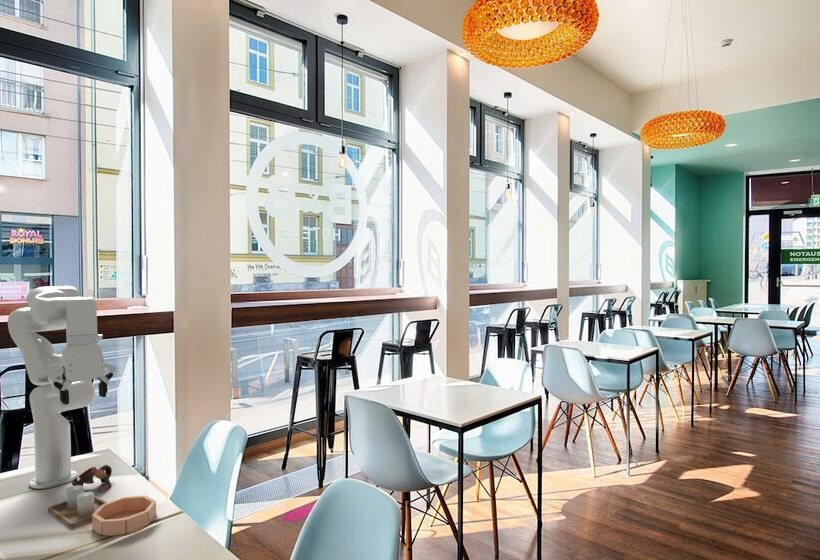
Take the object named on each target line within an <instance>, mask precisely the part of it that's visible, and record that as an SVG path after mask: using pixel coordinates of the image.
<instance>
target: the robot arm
mask: <svg viewBox="0 0 820 560" xmlns="http://www.w3.org/2000/svg"><path fill="white" fill-rule="evenodd" d="M25 299H26V300H25V301H26V305H27V306H28V307H22V308H18V309H16V310H13V311H12V312H10V313H9V315H8V317H7V326H8V327H7V328H8V332H9V335H10V338H11V339H12V341H13V342H14V344H15V345H16V346H17V347H18V349H19V350H20V352H21V354H22V358H23V362H24V365H25V368H26V373H27V375H28V378H29V381H30V383H32V384H33V385H34V386H35V385H36V386H37V387H35V388H33V389H32V391H31V392H30V394H29V404H30V408H31V414H32V419H33V431H34V432H33V433H34V434H33V435H34V436H33V437H34V466H35V467H34V471H35V472H34V473H35V474H34V475H35V476H34V477H33V478H32V479H30V480H29V487H31V488H32V489H40V490H41V489H42V490H43V489H50V488H55V487H60V486H62V485H67V484H68V483H70V482H71V483H72V482H73V481H74V480H75V479H77V477H78V473H77V471H76V470H73V469H72V455H71V454H72V452H71V451H72V447H71V446H72V443H71V442H72V441H71V440H72V439H71V438H72V437H71V424H70V422H69V420H68V419H67V418H66V417H65V416H63V415H62V414H61V413H62V412H66V411H71V410H76V409H81V408H85V407H88V406H90V405H92V404H93V402H94V400H95V397H96V392H95V388H94V384H93V381H92V380H95V379H97V380H98V381H99V383H98V396H99V397H102V398H107V394H108V383H109V382H110V380H111V379H112V378H113V377H114V374H115V372H116V369H117V366H115V365H112V364H109V363H107V362H105V360H104V354H103V349H102V346H101V344H100V343H99V341H100V340H103V334H99V333H98V315H97V314H98V311H97V310H98V309H97V301H96V299H94V298H92V297H85V296H81V294H80V292H79V290H78V289H77V288H76V287H74V286H71V285H62V286H61V285H59V286H58V285H57V286H55V285H54V286H39V287H36V288H33V289H32V290H31V291H29V292H28V293H27V295H26V298H25ZM61 330H65V332H66V334H65V336H66V337H65V338H66V346H63V348H62V352H61V354H57V353H55V351H54V346H53V343H51V341H49V340H48V339H47V338H45V336H42V335H40V334H38V333H37V332H48V331H61ZM106 369H108V370H107V371H108V372H107V373H106V372H105V371H106ZM105 373H106V374H105Z"/></svg>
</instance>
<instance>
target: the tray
mask: <svg viewBox="0 0 820 560" xmlns="http://www.w3.org/2000/svg"><path fill="white" fill-rule="evenodd" d="M106 503H108V502H107V501H105V500H104V499H102V498H100V497H98V496H97V495H95V494H94V512H95V511H96V510H97V509H98V508H99V507H100V506H101V505H103V504H106ZM47 511H48V513H49V514H51V515H52V516H53V517H54V518H56V519H58V520H59V521H60V522H61V523H63V524H64V525H66V526H67V527H68V528H70V529H71V530H72V529H73V530H74V529H75V528H78V527H81V526H84V525H87V524H88V523H92V515H91V516H89V517H85V518H78V517H77V510H74V511H68V510H67V500H66V501H63V502H60V503H57V504H54V505H52V506H49V507H47Z"/></svg>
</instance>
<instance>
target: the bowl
mask: <svg viewBox="0 0 820 560" xmlns="http://www.w3.org/2000/svg"><path fill="white" fill-rule="evenodd" d="M156 515H157V500H155V499H153V498H151V497H150V496H148V495H135V496H134V495H132V496H123V497H120V498H117V499H115V500H112V501H109V502H107V503H106V504H103V505H101V506H100V507H99V508H98V509H97V510H96V511H95V512H94V513H93V514H92V522H91V527H92V528H91V529H92V530H93V531H95V533H96V534H99V535H101V536H120V535H123V537H125V536H129V535H132V534H135V533H137V532H138V533H139V532H140V531H142V530H145V529H146V528H148V527H149V526H150V523H151V522H153V520H154V518H155V516H156Z"/></svg>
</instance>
